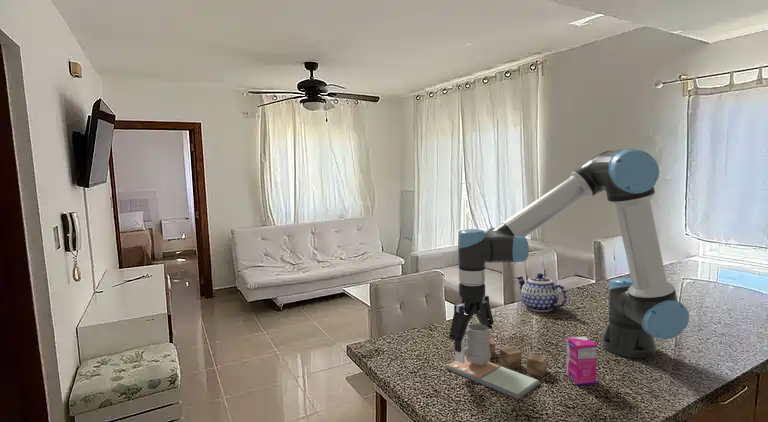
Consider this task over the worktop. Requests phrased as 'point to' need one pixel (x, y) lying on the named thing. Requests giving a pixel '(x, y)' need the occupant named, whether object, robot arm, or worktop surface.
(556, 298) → the teapot
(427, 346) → the worktop surface
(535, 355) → the walnut block
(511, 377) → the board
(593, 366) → the supplement box
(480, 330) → the mug
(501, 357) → the walnut block
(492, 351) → the walnut block
